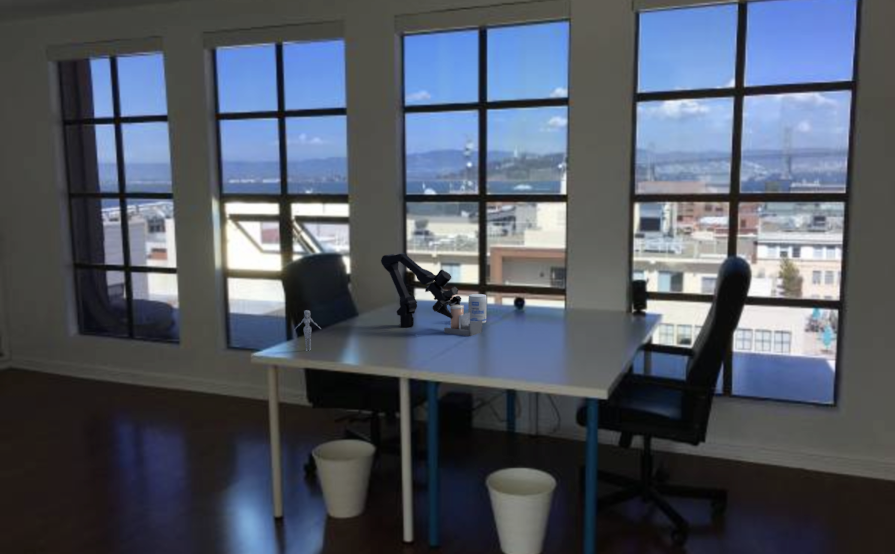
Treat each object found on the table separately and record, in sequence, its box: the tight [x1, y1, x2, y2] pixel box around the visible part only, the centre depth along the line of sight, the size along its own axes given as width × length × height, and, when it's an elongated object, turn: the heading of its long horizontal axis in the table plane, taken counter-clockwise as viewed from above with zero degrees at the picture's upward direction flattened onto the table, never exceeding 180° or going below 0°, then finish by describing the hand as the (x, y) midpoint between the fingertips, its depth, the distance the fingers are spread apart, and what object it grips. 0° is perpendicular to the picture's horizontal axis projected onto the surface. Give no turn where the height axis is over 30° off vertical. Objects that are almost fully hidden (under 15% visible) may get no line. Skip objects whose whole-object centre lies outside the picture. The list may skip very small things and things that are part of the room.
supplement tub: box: [467, 293, 488, 324], centre depth 373 cm, size 10×10×15 cm
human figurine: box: [293, 309, 322, 352], centre depth 315 cm, size 12×4×18 cm, turn 97°
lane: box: [443, 320, 483, 337], centre depth 347 cm, size 15×11×6 cm
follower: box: [459, 312, 470, 330], centre depth 346 cm, size 1×8×9 cm, turn 146°
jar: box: [449, 304, 465, 329], centre depth 348 cm, size 7×7×13 cm
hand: (457, 316), depth 348 cm, fingers open, 9 cm apart
